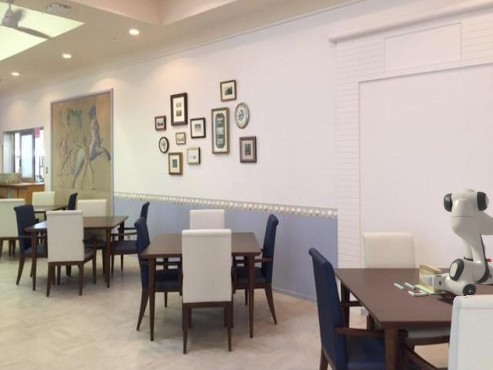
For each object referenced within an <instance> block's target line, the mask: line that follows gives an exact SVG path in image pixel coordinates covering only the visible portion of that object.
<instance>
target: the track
mask: <svg viewBox="0 0 493 370" xmlns="http://www.w3.org/2000/svg"><path fill="white" fill-rule="evenodd" d="M394 286H395V287H396V288H399V289H400V290H402V291H403V290H405V287H404V286H406V287H409V288H410V289H412V290H416V287H415V285H412V284H410V283H408V282H404V286H403V285H400V284H399V283H394Z"/></svg>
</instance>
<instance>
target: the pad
mask: <svg viewBox="0 0 493 370" xmlns="http://www.w3.org/2000/svg"><path fill="white" fill-rule="evenodd" d="M414 287H415V288H417V289H419V290H422V291H424V292H426V293H427V294H429V295H442V294H444V295H445V294H447V292H446V291H445V290H442V292H437V293H434V292H432V291H430V290H428V289H426V288H424V287H422V286H420V285H419V284H414Z"/></svg>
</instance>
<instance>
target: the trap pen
mask: <svg viewBox="0 0 493 370" xmlns="http://www.w3.org/2000/svg"><path fill="white" fill-rule="evenodd" d="M407 292H408V294H409V295H411V296H413V297H420V296H423V297H424V296H428V293H427V292H425V291H423V290H421V289H419V291H411V290H408V291H407Z"/></svg>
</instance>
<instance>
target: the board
mask: <svg viewBox="0 0 493 370" xmlns="http://www.w3.org/2000/svg"><path fill="white" fill-rule="evenodd" d="M418 271H419V272H418V274H419V279H418V280H419V281H418V282H419V284H418V285H420V286H422V287H424V288H426V289H428V290H430V291H432V292H434V293H437V292H442V291H443V290H442V289H434V288H433V287H432V286H429V285H427V284H425V283H423V282H422V276H423V275H424V274H428V275H437V274H442V273H443V270H442V269H439V268H437V267H434V266H432V265H429V264H419V270H418Z"/></svg>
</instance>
